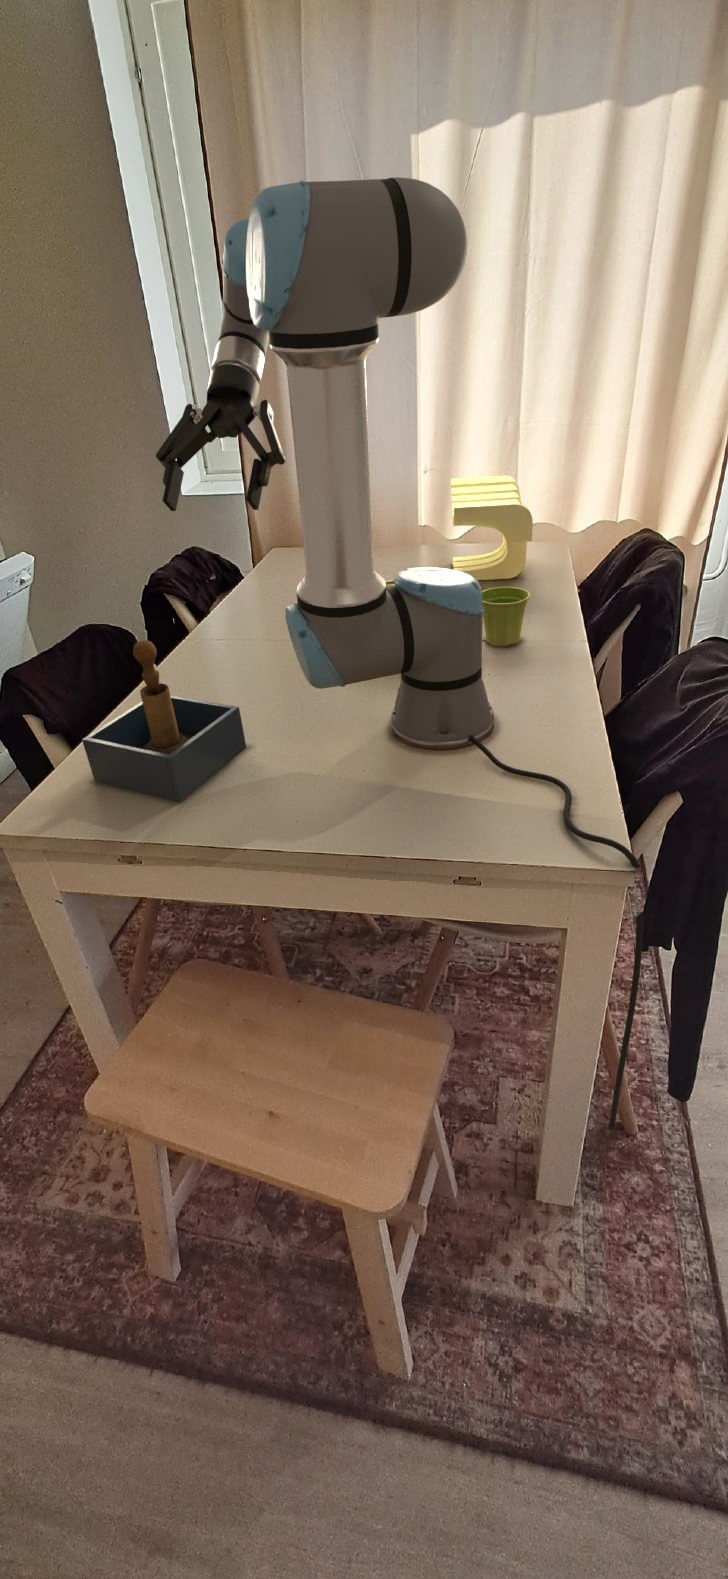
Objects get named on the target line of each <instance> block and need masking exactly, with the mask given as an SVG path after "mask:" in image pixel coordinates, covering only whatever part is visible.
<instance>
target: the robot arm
mask: <svg viewBox="0 0 728 1579" xmlns="http://www.w3.org/2000/svg"><path fill="white" fill-rule="evenodd" d="M222 253H223V254H222V259H221V266H222V303H221V304H222V306H221V307H222V310H221V311H222V313H221V322H220V328H219V334H218V340H217V342H216V346H215V350H214V355H213V360H212V364H211V371H210V375H209V379H208V384H207V388H206V403H205V405H204V406H203V407H202V408H197V407H194V406H193V404H192V403H188V404H186V405H185V407H184V410H183V413H182V416H181V418H180V419H179V421H178V422H177V423H176V424H175V426H174V428H173V429H172V430H171V432H170V433H169V435H168V436H167V437H166V439H165V440H164V442H163V443H162V445H161V446H160V447H159V449H158V451H157V452H156V453H155V458H156V459H157V460H158V461H159V463H160V464H161V466H163V468H164V473H163V477H162V483H163V485H164V486H165V487H164V491H163V496H162V502H163V503H164V504H165V506H166V507H167V508H168V509H169V510H170V512H176V511H177V507H178V502H179V498H180V493H181V488H182V485H183V484H182V483H183V479H184V474H185V472H184V471H183V469H182V468H184V467H185V465H186V464H187V463H188V462H190V460H192V458H193V457H195V456H196V454H198V452H200V451H201V450H202V449H203V448H204V447H205V446H206V445H207V444H208V443H213V441H215V440H216V438H217V439H225V438H228V437H229V438H231V439H233V438H238V436H240V435H241V434H242V435H243V437H244V438H245V440H246V442H248V444H249V445H250V447H251V448H252V450H253V451H254V452H255V454H256V455H257V457H258V458H253V461H252V462H253V463H252V468H251V472H250V473H251V474H250V477H249V482H248V487H247V493H246V498H245V500H246V501H247V503H248V504H249V506H250V507H251V509H252V510H253V511H259V508H260V504H261V497H262V492H263V488H265V487H267V486H268V485H269V483H270V477H271V471H272V468H273V467H274V466H276V465H277V464H278V465H280V466H281V465H284V464H285V463H286V457H285V454H284V451H283V447H282V446H281V442H280V439H279V437H278V434H277V430H276V428H275V425H274V420H275V419H274V417H275V416H274V415H275V413H274V410H273V409H272V407H271V404H270V403H269V402H268V400H267V399H263V400H261V401H260V403H259V405H257V404H258V399H259V393H260V386H261V382H262V378H263V372H264V367H265V362H266V355H267V351H268V346H269V347H270V349H271V350H272V351H273V352H274V353H275V354H276V355H277V356H278V357H279V358H280V359H281V360H282V361H283V362H284V364H285V367H286V376H287V378H286V379H287V386H288V396H289V397H288V398H289V408H290V417H291V418H290V420H291V428H292V440H293V450H294V462H295V472H296V479H297V488H298V489H297V491H298V499H299V511H300V521H301V522H300V523H301V531H302V532H301V533H302V544H303V553H304V563H305V564H304V565H305V573H306V574H305V576H304V577H303V578H302V579H301V580H300V582H298V584H297V585H296V589H295V590H296V593H295V594H296V603H295V602H292V603H291V604H290V605H287V606H286V607H285V610H284V612H285V621H286V627H287V630H288V634H289V637H290V641H291V643H292V648H293V650H294V653H295V656H296V659H297V662H298V664H299V667H300V669H301V671H302V674H303V675H304V677H305V680H306V681H307V682H308V683H309V685H310V686H312V687H313V688H314V689H315V688H316V689H319V690H322V689H323V690H324V689H329V688H336V687H341V688H345V687H346V686H347V685H351V684H356V683H357V684H358V683H361V682H367V681H371V680H376V679H381V678H385V677H391V676H395V675H400V683H399V687H398V690H397V694H396V697H395V703H394V707H393V709H392V711H391V717H390V725H391V727H390V728H391V733H392V735H393V736H394V737H395V739H396V740H398V741H399V742H400V743H402V744H404V745H406V746H408V747H410V748H414V749H418V750H423V751H431V752H433V751H434V752H448V751H458V750H463V749H467V748H469V747H473V746H475V747H477V748H478V749H479V750H480V752H482V753H483V754H484V755H485V756H486V757H487V758H488V759H489V760H490V761H491V763H492V764H494V765H495V766H496V767H498V768H499V769H501V770H503V771H505V772H508V773H510V774H512V775H516V776H521V777H526V778H531V779H538V780H543V781H546V782H549V783H551V784H554V785H556V786H557V787H559V788H560V789H561V790H562V791H563V793H564V795H565V801H564V806H563V813H562V814H563V815H562V817H563V821H564V824H565V826H566V827H567V828H568V830H569V831H570V832H571V833H573V834H574V835H575V836H577V837H579V838H581V839H583V840H587V841H590V842H594V843H597V844H602V845H604V846H608V847H611V848H613V849H616V850H617V851H618V852H620V853H621V854H623V855H624V856H625V857H626V858H627V859H628V861H629V862H630V864H631V866H632V867H634V868H636V869H639V868H641V865H640V863H639V861H638V860H637V857H636V856H635V855H634V854H633V853H632V851H630V850H629V849H628V848H627V847H626V846H624V845H623V844H621V843H619V842H618V841H615V840H613V839H610V838H607V837H603V836H599V835H597V834H596V835H595V834H592V833H587V832H585V831H583V830H581V829H578V827H577V826H575V824H574V823H573V822H572V820H571V815H570V813H571V807H572V803H573V801H572V800H573V797H572V796H573V794H572V792H571V789H570V788H569V786H567V784H565V782H563V781H562V780H560V779H558V778H556V777H554V776H551V775H548V774H544V773H539V772H533V771H528V770H523V769H518V768H515V767H512V766H509V765H506V764H505V763H503V762H502V761H500V760H499V759H498V758H497V757H496V756H495V755H494V754H493V753H492V752H491V751H490V750H489V749H488V748H487V747H486V746H485V745H484V744H483V743H482V742H484V741H485V740H486V739H487V738H489V737H490V735H491V734H492V733H493V731H494V730H495V729H494V728H495V715H494V714H495V713H494V709H493V706H492V704H491V703H490V702H489V698H488V694H487V690H486V686H485V683H484V681H483V680H484V679H483V612H484V609H483V605H482V592H481V591H482V586H481V584H480V582H479V580H476V579H475V578H474V577H472V576H471V575H469V574H467V573H464V572H461V571H457V570H453V568H447V567H436V566H435V567H434V566H416V567H408V568H404V569H403V570H399V571H398V572H397V573H396V574H395V577H394V580H393V584H394V585H393V586H389V587H387V582H386V580H385V579H384V577H383V576H381V575H380V574H379V573H377V572H376V571H375V567H374V566H375V565H374V542H373V541H374V540H373V520H372V519H373V517H372V498H371V497H372V494H371V469H370V447H369V446H370V444H369V423H368V422H369V420H368V417H369V416H368V398H367V397H368V396H367V373H366V370H367V369H366V360H367V357H368V355H369V354H370V353H371V352H372V350H373V349H374V348H375V346H376V345H377V344H378V343H379V340H380V338H379V337H380V336H379V319H384V318H392V317H401V316H407V315H411V314H414V313H415V314H416V313H418V312H421V311H423V310H426V309H428V308H430V307H432V306H433V305H435V304H437V303H438V302H440V301H441V300H442V299H444V298H445V297H446V296H447V295H449V294H450V292H451V291H452V290H453V288H455V286H456V284H457V283H458V281H459V279H460V277H461V275H462V273H463V270H464V267H465V265H466V261H467V256H468V234H467V228H466V225H465V221H464V218H463V216H462V214H461V212H460V210H459V209H458V207H457V205H456V204H455V202H453V200H452V199H451V198H450V197H449V196H448V195H447V194H446V193H445V192H443V191H442V190H441V189H439V188H438V187H436V186H434V185H432V184H430V183H428V182H427V181H422V180H419V179H417V178H410V177H409V178H408V177H399V176H398V177H388V178H383V179H382V178H380V179H379V178H375V179H374V178H372V179H351V180H324V181H323V180H321V181H305V180H299V181H297V182H291V183H285V184H279V185H273V186H268V187H266V188H263V189H262V190H261V191H260V192H259V194H257V195H256V197H255V198H254V201H253V203H252V205H251V208H250V213H249V217H248V218H245V219H241V220H238V221H236V222H234V223H233V224H232V225H231V226H230V227H229V229H228V230H227V231H226V234H225V238H224V244H223V252H222ZM256 417H257V419H258V420H259V421H261V424H262V427H263V430H264V434H265V436H266V439H267V442H268V446H269V448H270V450H271V451H268V452H267V450H266V449H265V448H264V446H263V445H262V444H261V442H260V441H259V439H258V438H257V437H256V435H255V433H254V432H253V431H252V430H251V428H250V425H251V423H252V422H253V421H254V420H255V419H256ZM207 427H208V429H209V430H210V431H209V432H208V430H207ZM643 934H644V911H641V912H640V913H639V914H638V915H637V916H636V917H635V947H634V961H633V970H632V978H631V979H632V980H631V988H630V996H629V1002H628V1008H627V1014H626V1021H625V1025H624V1026H625V1028H624V1033H623V1038H622V1043H621V1050H620V1055H619V1061H618V1067H617V1072H616V1077H615V1084H614V1090H613V1095H612V1096H613V1097H612V1103H611V1109H610V1116H609V1122H608V1128H609V1130H611V1131H613V1130H615V1127H616V1121H617V1113H618V1106H619V1101H620V1100H619V1099H620V1095H621V1089H622V1088H621V1087H622V1082H623V1077H624V1072H625V1067H626V1060H627V1055H628V1050H629V1046H630V1045H629V1044H630V1040H631V1034H632V1028H633V1022H634V1017H635V1010H636V1005H637V998H638V991H639V983H640V975H641V966H642V954H643V937H644V936H643Z"/></svg>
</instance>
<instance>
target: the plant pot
mask: <svg viewBox="0 0 728 1579" xmlns="http://www.w3.org/2000/svg"><path fill="white" fill-rule="evenodd" d="M481 592H482V605H483V609H484V612H483V619H482V622H483V627H484V636H485V641H486V643H489V644H490V645H491V646H493V647H508V646H509V645H516V644H518V643H519V642H520V638H521V634H522V627H523V621H524V615H525V609H526V607H527V604H528V600H530V598H531V593H530V592H529V590H526V589H524V588H520V587H515V586H497V587H491V588H487V589H483V590H481Z"/></svg>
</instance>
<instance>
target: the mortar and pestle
mask: <svg viewBox="0 0 728 1579" xmlns="http://www.w3.org/2000/svg"><path fill="white" fill-rule="evenodd" d="M157 653H158V652H157V648H156V646H155V644H154V643H153V642H152V641H150V640H147V639H142V640H139V641H137V642H136V643H135V644H134V645H133V648H132V655H133V657H134V659H135V660H136V661H137V662H138V663H139V664H140V665H141V666H142V669H143V672H142V673H141V677H142V680H143V681H144V683H145V686H143V687H141V689H140V691H139V694H140V698H141V702H143V706H144V710H145V713H146V718H147V722H148V726H149V730H150V734H151V739H152V740H151V741H150V742H149V743H148V745H147V746H146V748H145V750H150V751H154V752H159V753H164V754H168V755H170V754H171V753H172V752H174V751H175V750H176V749H178V748H179V747H180V746H182V745H183V744H184V743H186V742H187V741H188V740H190V739H189V738H188V737H186V736H183V735H182V734H179V731H178V727H177V722H176V718H175V713H174V709H173V705H172V700H171V696H170V695H171V693H170V692H171V691H170V687H169V685H167V684H166V683H163V682H162V683H161V682H160V672H159V670H157V669H155V661H156V658H157Z"/></svg>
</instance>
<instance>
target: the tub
mask: <svg viewBox="0 0 728 1579" xmlns="http://www.w3.org/2000/svg"><path fill="white" fill-rule="evenodd" d="M170 696H171V700H172V705H173V709H174V713H175V718H176V722H177V727H178V731H179V734H182V735H183V736H186V737H188V738H189V739H190V740H188V741H187V742H186V743H184V744H183V745H182V746H180V747H179V748H178V749H176V750H175V751H174V752H172V753H171V754H170V755H168V754H164V753H159V752H154V751H150V750H145V748H146V746H147V745H148V743H149V742H150V741H151V740H152V739H151V734H150V730H149V726H148V722H147V718H146V713H145V710H144V706H143V702H142V701H140V702H138V703H136V704H135V705H134V706H132V707H131V708H128V710H126V711H124V712H123V713H121V714H120V715H118V716H117V717H115V718H113V719H112V720H110V721H109V722H106V723H105V724H104V725H103V726H101V727H99V728H97V729H96V730H95V731H92V732H91V733H90V734H88V735H87V736H85V737H84V738H82V739H81V741H82V745H83V748H84V751H85V754H86V758H87V761H88V765H89V767H90V770H91V774H92V776H93V779H94V782H97V783H100V784H105V785H110V786H113V787H118V788H121V789H125V790H130V791H134V792H137V793H142V794H146V795H149V796H150V795H151V796H154V797H159V798H162V799H166V800H169V801H170V800H171V801H175V802H179V803H182V802H183V801H184V800H185V799H186V798H188V797H189V796H190V795H191V794H192V793H194V792H195V791H196V790H198V788H200V787H201V786H202V785H204V784H205V783H206V782H207V781H208V780H209V779H211V778H212V777H213V776H215V775H216V773H218V772H219V771H220V770H222V769H223V768H224V767H225V766H227V765H228V764H229V763H230V762H232V760H234V759H235V758H237V756H239V755H240V754H241V753H242V752H243V751H244V750H246V749H247V743H246V738H245V733H244V727H243V722H242V716H241V711H240V707H239V706H236V705H229V704H225V703H224V704H223V703H219V702H213V701H206V700H200V699H194V698H189V697H183V696H177V695H171V694H170Z"/></svg>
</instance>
